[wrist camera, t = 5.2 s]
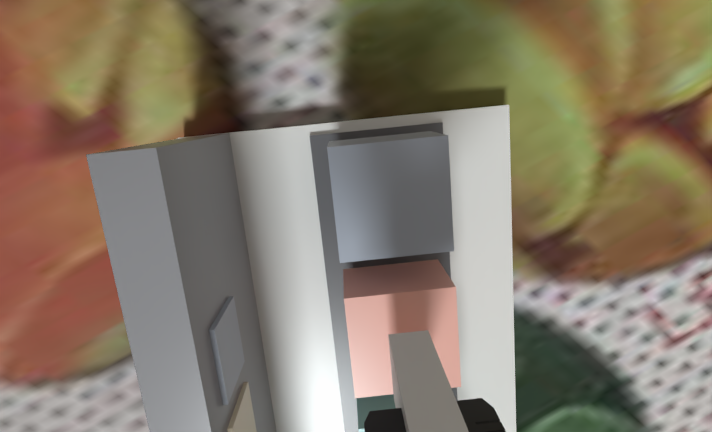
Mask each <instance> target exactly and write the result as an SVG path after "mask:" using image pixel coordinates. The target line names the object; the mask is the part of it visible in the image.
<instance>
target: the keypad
mask: <svg viewBox="0 0 712 432" xmlns="http://www.w3.org/2000/svg"><path fill="white" fill-rule="evenodd" d="M426 131H432V132H436V133H441V134H445V135H448V140H449V160H450V179H451V199H452V218H453V237H454V251H451V252H441V253H432V254H422V255H412V256H403V257H393V258H384V259H374V260H365V261H355V262H345V263H340V260H339V251H338V242H337V233H336V224H335V215H334V206H333V197H332V188H331V179H330V170H329V161H328V152H327V146H328V143H329V141H337V140H347V139H357V138H367V137H377V136H387V135H397V134H407V133H416V132H426ZM86 156H87V161H88V165H89V169H90V174H91V178H92V182H93V187H94V191H95V195H96V200H97V204H98V208H99V213H100V217H101V222H102V226H103V230H104V235H105V239H106V243H107V248H108V252H109V256H110V261H111V265H112V269H113V274H114V278H115V282H116V287H117V291H118V296H119V300H120V304H121V309H122V313H123V317H124V322H125V326H126V330H127V335H128V339H129V343H130V348H131V352H132V356H133V361H134V365H135V369H136V374H137V378H138V383H139V387H140V391H141V396H142V400H143V404H144V409H145V413H146V417H147V422H148V426H149V430H150V432H359V431H358V415H357V399H356V398H355V395H354V386H353V377H352V368H351V359H350V350H349V341H348V332H347V323H346V314H345V305H344V285H343V269H350V268H360V267H369V266H379V265H388V264H398V263H407V262H417V261H427V260H436V259H438V260H439V262H440V263H441V265H442V266H443V268H444V270H445V271H446V273H447V274H448V276H449V277H450V279H451V280H452V282H453V283H454V285H455V286H456V295H457V315H458V334H459V354H460V373H461V387H455V388H451V389H452V391H453V394H454V396H455V399H456V401H458V400H467V399H477V398H482V399H484V400H485V401H486V402H487V403H489V404H490V405H491V406H492V407H494V409H495V411H496V413H497V415H498V417H499V419H500V422H501V423H502V425H503V426H504V428H505V432H516V400H515V354H514V308H513V261H512V215H511V169H510V123H509V105H498V106H488V107H478V108H468V109H458V110H448V111H438V112H428V113H418V114H408V115H398V116H388V117H379V118H369V119H359V120H349V121H339V122H329V123H319V124H309V125H299V126H289V127H279V128H269V129H259V130H249V131H239V132H230V133H220V134H210V135H200V136H190V137H181V138H177V139H174V140H168V141H163V142H157V143H151V144H145V145H139V146H134V147H128V148H122V149H116V150H110V151H105V152H99V153H93V154H87V155H86Z"/></svg>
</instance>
